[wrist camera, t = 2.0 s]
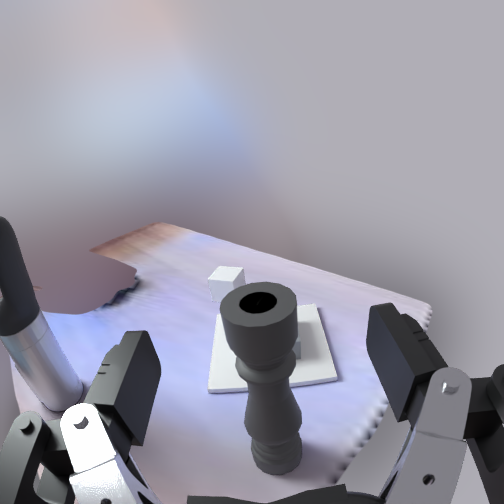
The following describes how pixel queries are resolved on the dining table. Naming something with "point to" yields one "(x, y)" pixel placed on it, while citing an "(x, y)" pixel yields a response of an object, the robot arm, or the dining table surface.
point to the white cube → (225, 281)
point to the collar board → (306, 349)
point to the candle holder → (266, 369)
